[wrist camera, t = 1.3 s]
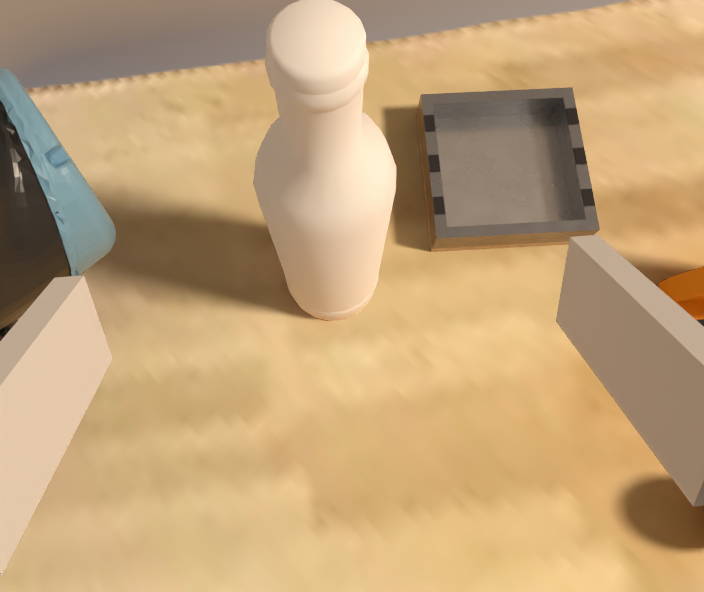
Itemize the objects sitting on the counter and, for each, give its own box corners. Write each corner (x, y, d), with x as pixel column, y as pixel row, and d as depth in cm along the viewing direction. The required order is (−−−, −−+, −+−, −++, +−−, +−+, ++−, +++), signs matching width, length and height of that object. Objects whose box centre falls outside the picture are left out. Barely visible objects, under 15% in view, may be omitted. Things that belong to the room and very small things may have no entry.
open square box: (430, 251, 49) (436, 238, 46) (416, 115, 52) (420, 93, 49) (583, 243, 49) (600, 229, 46) (558, 108, 53) (572, 86, 50)
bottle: (277, 310, 47) (172, 107, 18) (299, 228, 49) (236, -73, 20) (367, 330, 47) (405, 155, 18) (385, 247, 49) (446, -33, 20)
